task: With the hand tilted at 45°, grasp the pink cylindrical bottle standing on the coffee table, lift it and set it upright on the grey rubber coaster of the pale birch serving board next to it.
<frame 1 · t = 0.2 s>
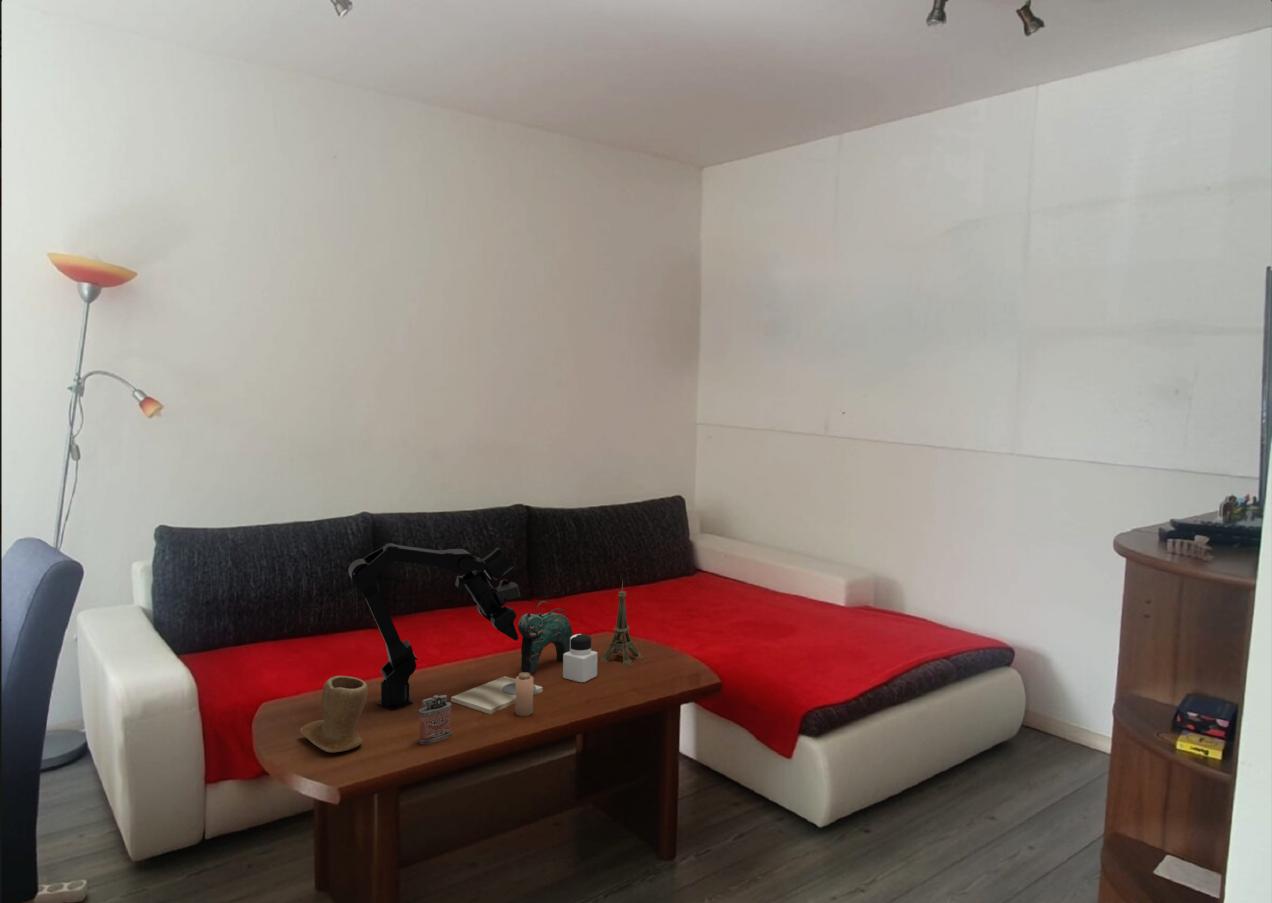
hand: (512, 634, 229), 15 cm above the table, tool tilted 35°, fingers open, 9 cm apart
serving board: (497, 696, 224), on the table
medicine bottle: (580, 677, 240), on the table
pink cylindrical bottle: (524, 712, 214), on the table
stone cup: (337, 743, 194), on the table
lighter: (435, 739, 197), on the table
ceramic cat: (544, 666, 249), on the table
eiffel tower: (621, 660, 257), on the table
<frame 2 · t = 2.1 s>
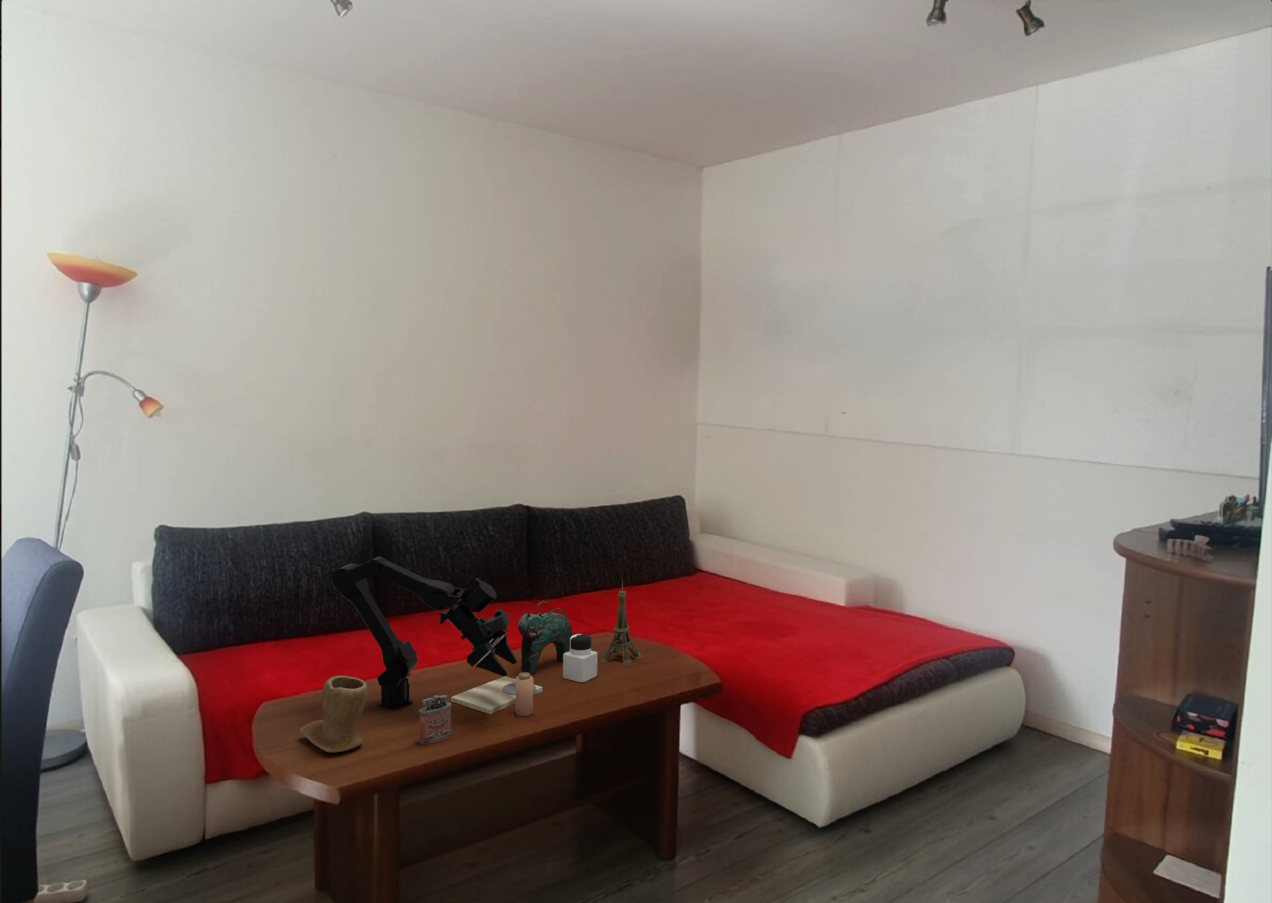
hand: (511, 669, 213), 11 cm above the table, tool tilted 45°, fingers open, 9 cm apart
nothing on the table moved.
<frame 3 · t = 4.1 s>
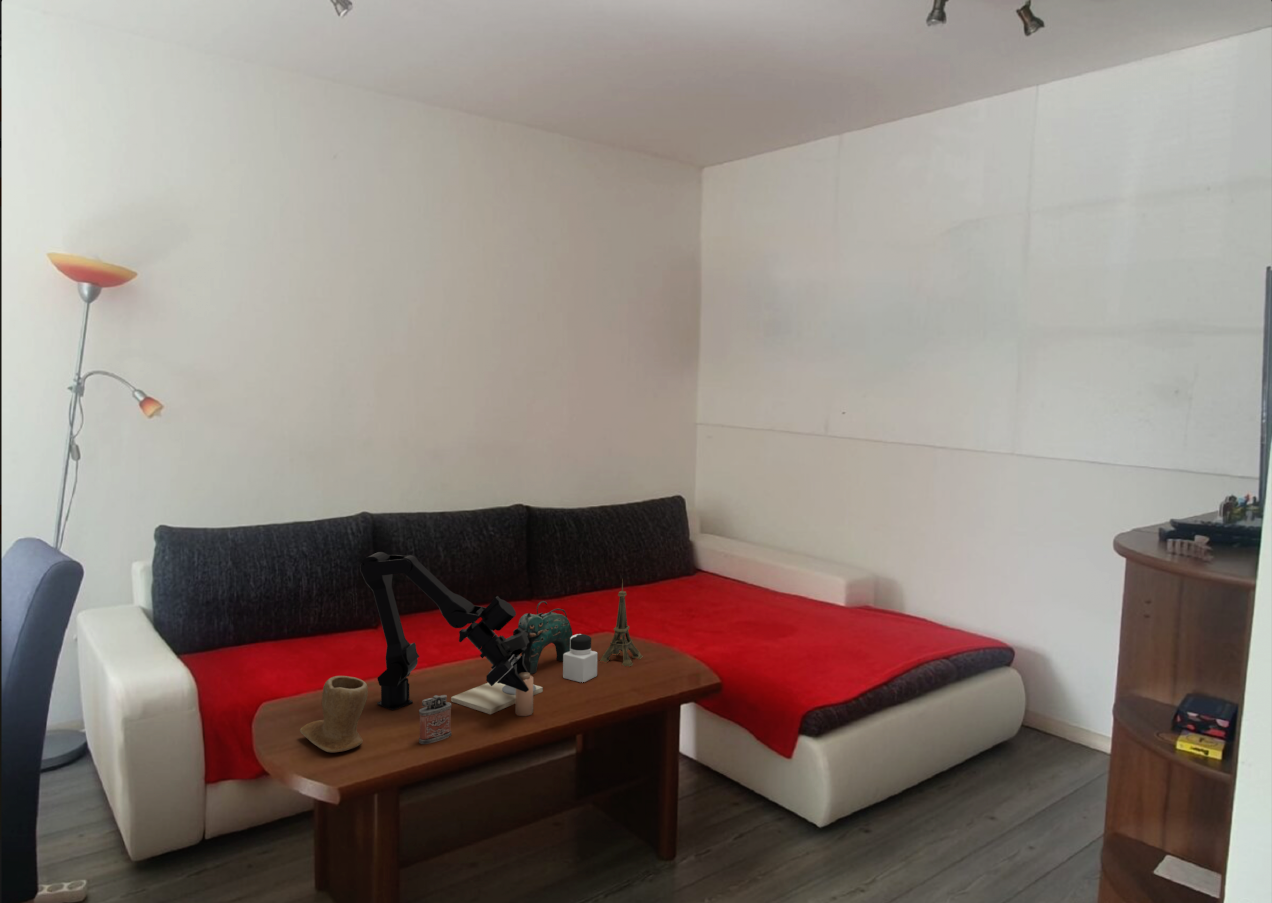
hand: (529, 687, 213), 7 cm above the table, tool tilted 45°, fingers closed on pink cylindrical bottle, 4 cm apart
pink cylindrical bottle: (524, 712, 214), on the table, touching gripper
everything else where it was.
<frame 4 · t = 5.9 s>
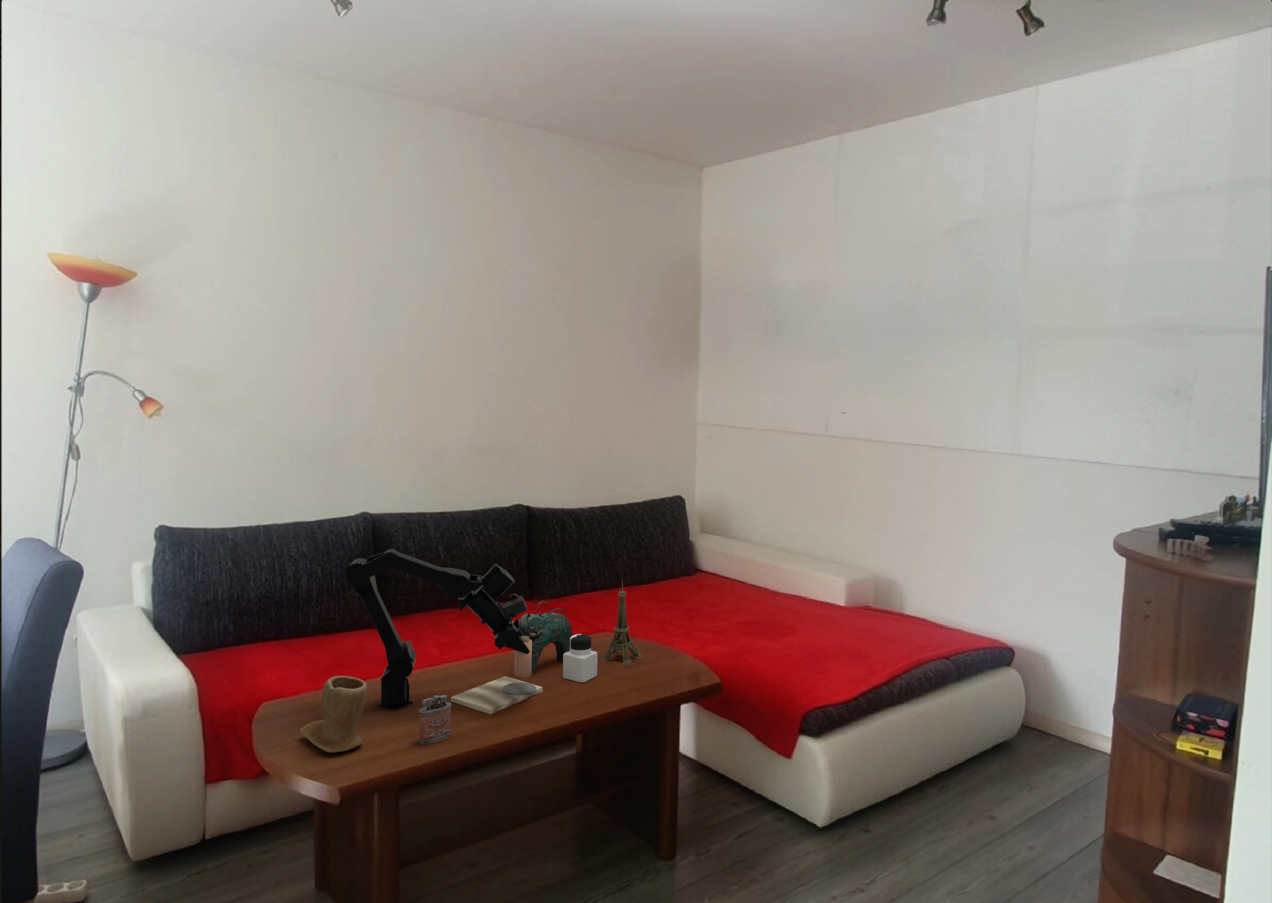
hand: (528, 649, 221), 13 cm above the table, tool tilted 45°, fingers closed on pink cylindrical bottle, 4 cm apart
pink cylindrical bottle: (523, 674, 222), point 7 cm above the table, touching gripper
everything else where it was.
when the fingers open (9 cm above the table, at t = 7.7 s): pink cylindrical bottle stays where it is, resting on serving board.
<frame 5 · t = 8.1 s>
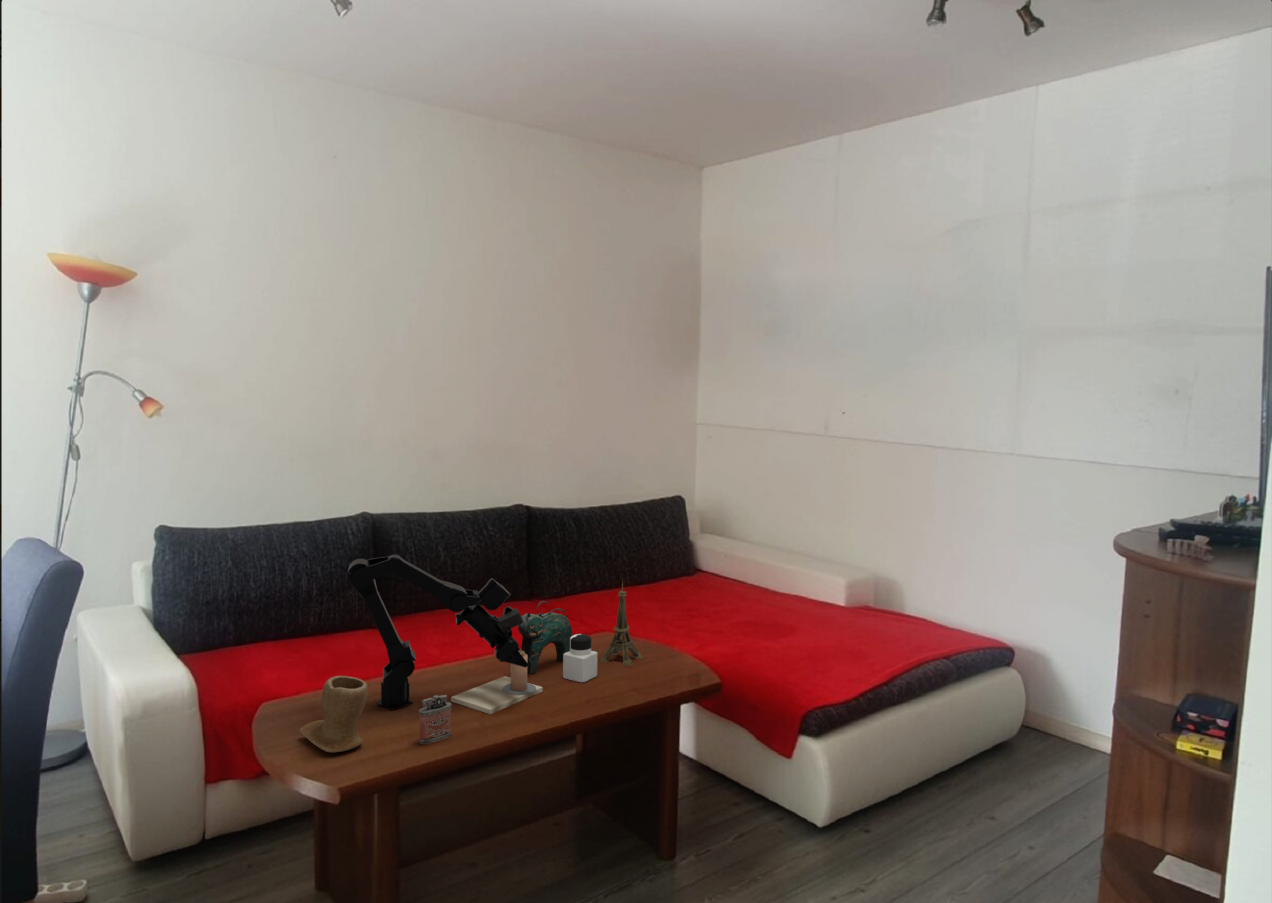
hand: (524, 660, 226), 9 cm above the table, tool tilted 45°, fingers open, 8 cm apart
pink cylindrical bottle: (518, 688, 226), point 1 cm above the table, touching serving board
everything else where it was.
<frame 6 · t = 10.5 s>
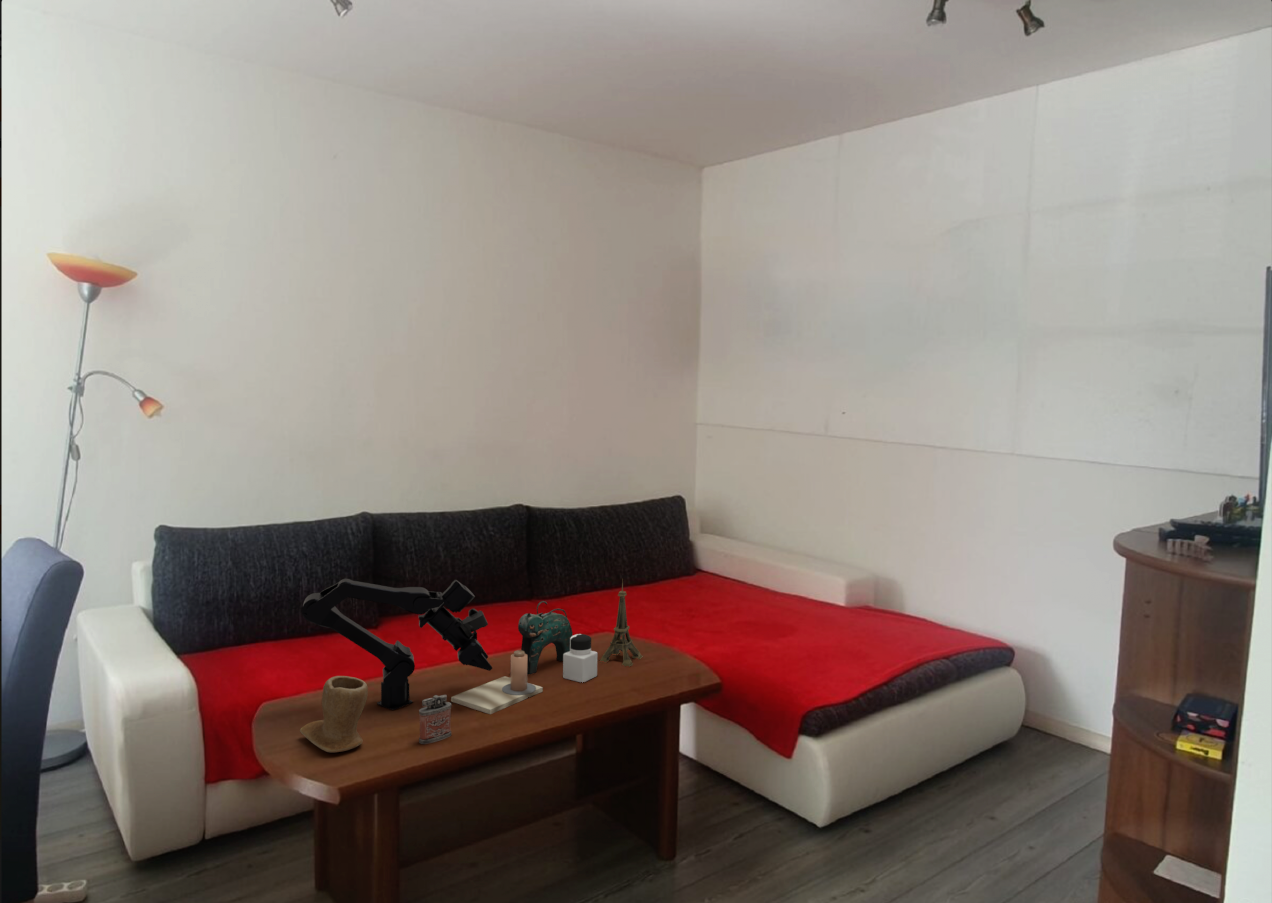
hand: (489, 663, 224), 9 cm above the table, tool tilted 45°, fingers open, 9 cm apart
nothing on the table moved.
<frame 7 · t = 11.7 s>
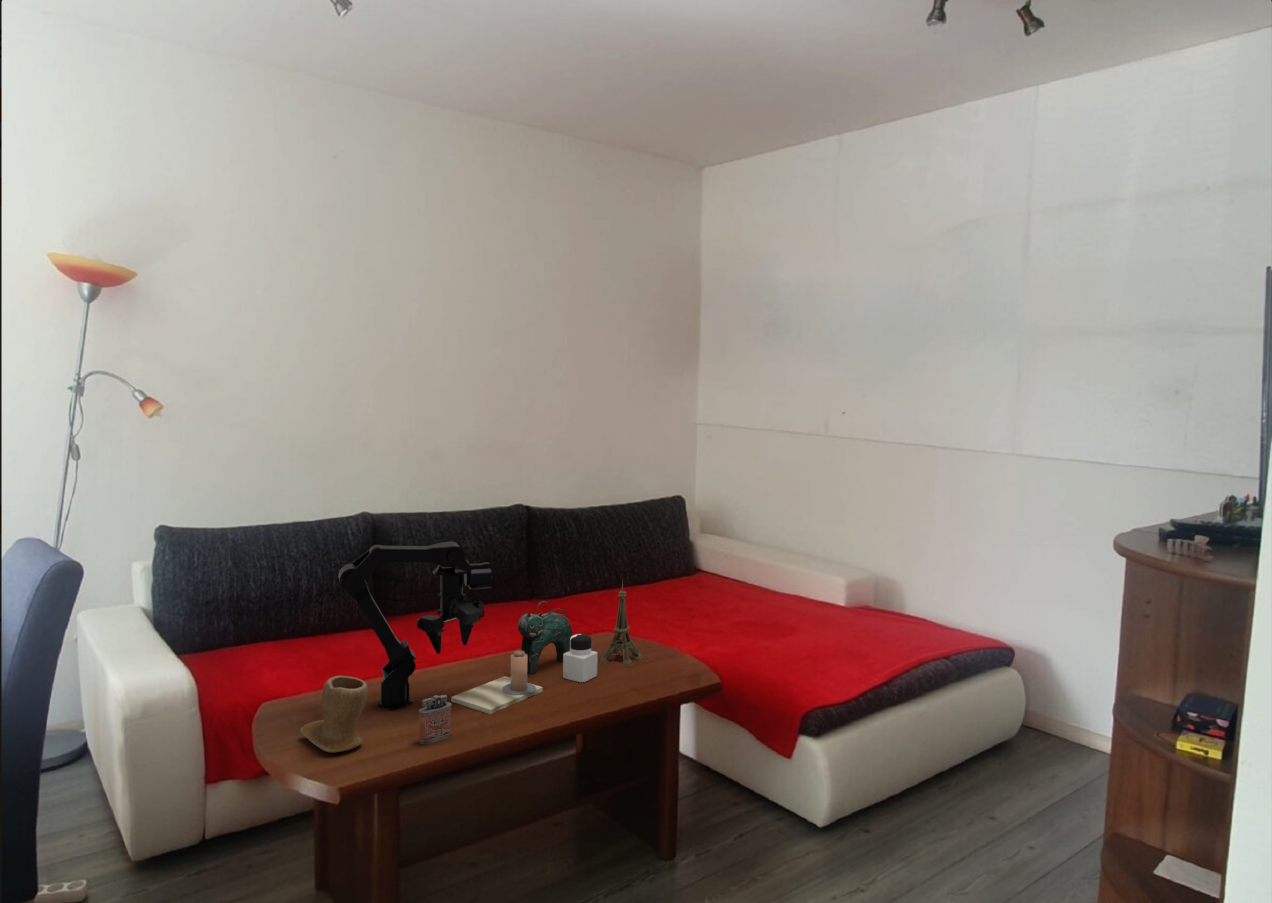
hand: (451, 649, 222), 13 cm above the table, tool pointing down, fingers open, 9 cm apart
nothing on the table moved.
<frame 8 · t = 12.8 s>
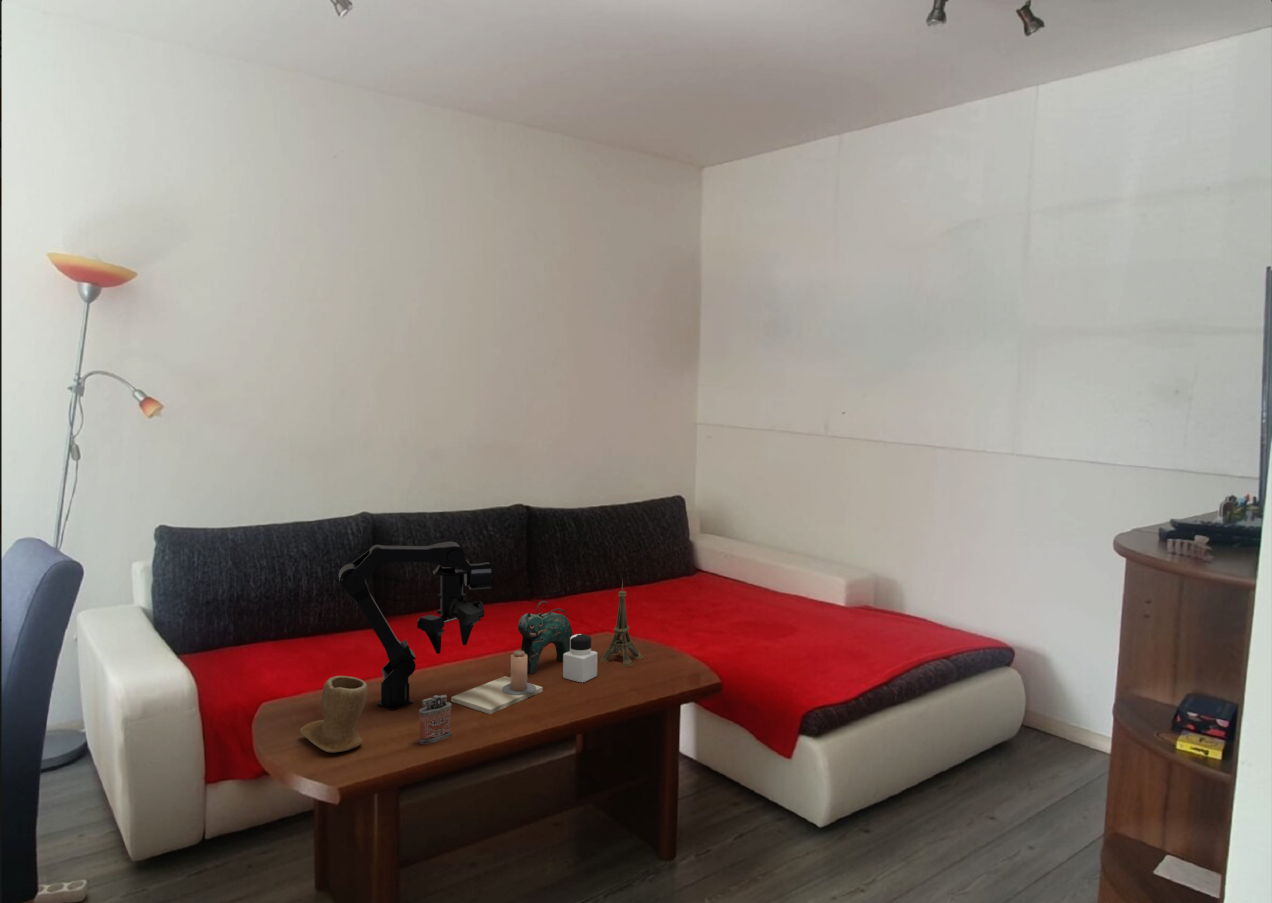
hand: (451, 649, 222), 13 cm above the table, tool pointing down, fingers open, 9 cm apart
nothing on the table moved.
at the end: pink cylindrical bottle inside the target area on the serving board (0.1 cm from its centre), point 1.4 cm above the serving board's base; pink cylindrical bottle tilted 0°; the gripper is holding nothing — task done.
